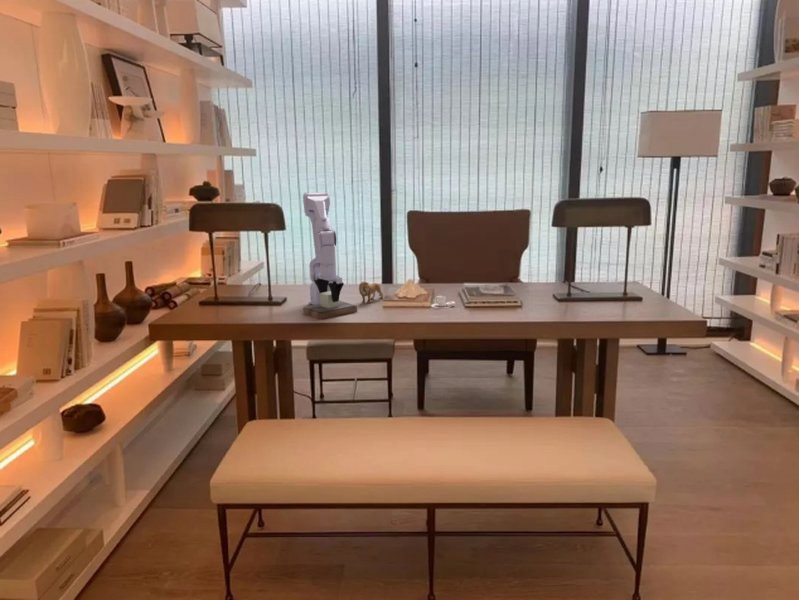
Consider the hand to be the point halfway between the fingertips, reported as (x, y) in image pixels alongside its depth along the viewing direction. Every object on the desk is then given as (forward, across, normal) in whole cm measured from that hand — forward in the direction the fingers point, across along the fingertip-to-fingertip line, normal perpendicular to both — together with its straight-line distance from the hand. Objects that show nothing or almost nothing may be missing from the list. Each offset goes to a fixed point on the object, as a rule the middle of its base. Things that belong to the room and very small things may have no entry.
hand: (329, 299), depth 234 cm
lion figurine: (+5, -4, +22) cm, 23 cm away
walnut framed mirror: (+5, 0, 0) cm, 5 cm away
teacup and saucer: (+6, +24, +36) cm, 44 cm away
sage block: (+2, 0, 0) cm, 2 cm away
